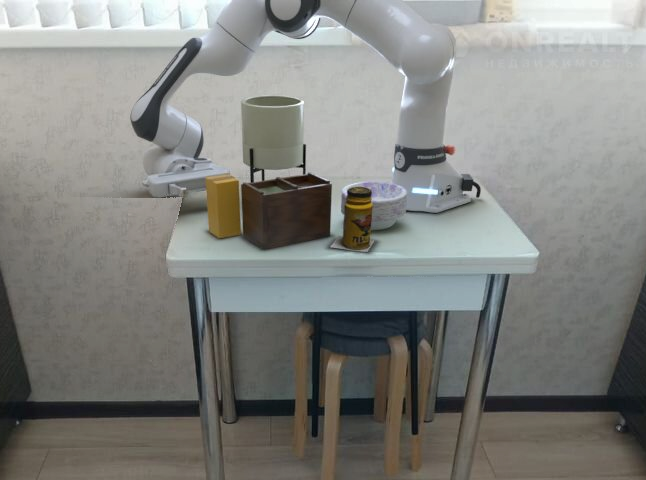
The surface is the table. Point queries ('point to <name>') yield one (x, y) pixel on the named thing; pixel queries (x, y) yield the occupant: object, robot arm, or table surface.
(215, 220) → the package
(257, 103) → the planter
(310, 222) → the rack
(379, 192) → the paper bowls
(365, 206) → the condiment
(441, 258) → the table surface
